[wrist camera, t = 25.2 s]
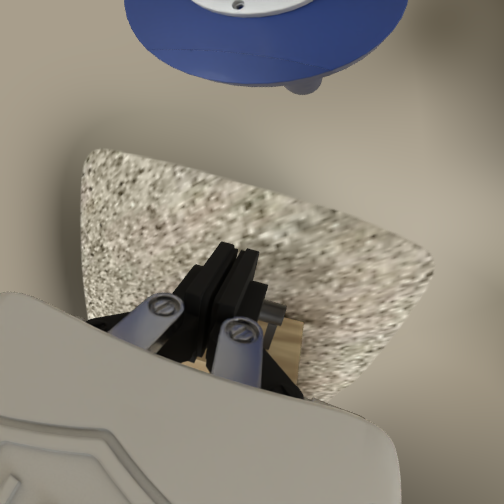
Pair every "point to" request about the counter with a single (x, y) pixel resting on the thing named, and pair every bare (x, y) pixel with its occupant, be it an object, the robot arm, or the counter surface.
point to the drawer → (274, 339)
